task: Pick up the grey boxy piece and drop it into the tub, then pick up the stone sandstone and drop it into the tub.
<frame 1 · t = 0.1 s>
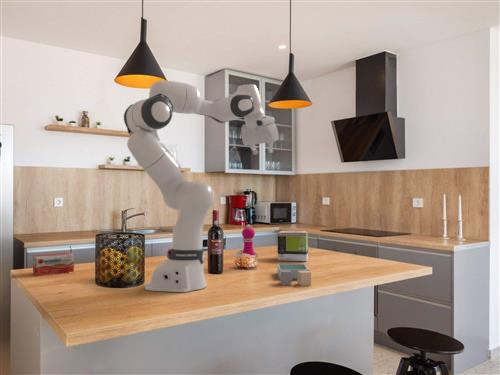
hand: (263, 153, 177), 52 cm above the table, tool tilted 20°, fingers open, 8 cm apart
tub: (292, 276, 172), on the table
medicine box: (53, 273, 177), on the table
tea box: (292, 260, 214), on the table
pepper mill: (248, 267, 192), on the table
stone sandstone: (304, 284, 157), on the table
grey boxy piece: (285, 283, 158), on the table
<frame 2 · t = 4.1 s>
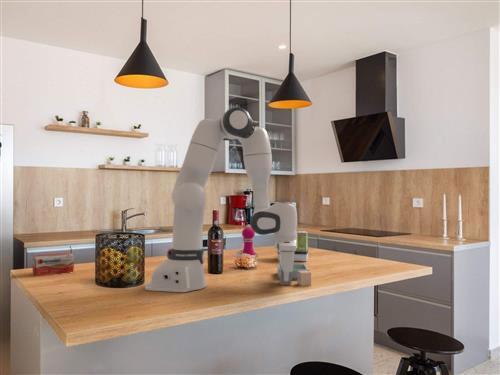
hand: (285, 279, 158), 2 cm above the table, tool pointing down, fingers closed on grey boxy piece, 4 cm apart
grey boxy piece: (285, 283, 158), on the table, touching gripper
everything else where it was.
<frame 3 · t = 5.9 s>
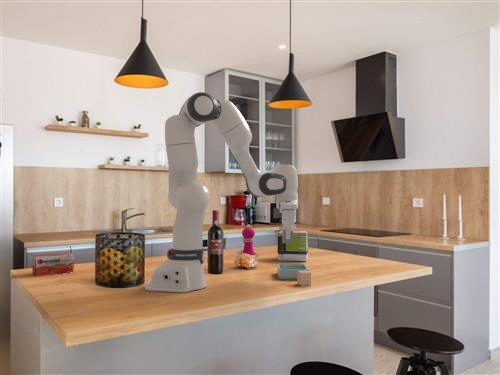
hand: (287, 238, 166), 17 cm above the table, tool pointing down, fingers closed on grey boxy piece, 4 cm apart
grey boxy piece: (287, 242, 166), point 15 cm above the table, touching gripper
everything else where it was.
when the fingers open (5 cm above the table, at t = 8.0 s): grey boxy piece drops 2 cm, resting on tub.
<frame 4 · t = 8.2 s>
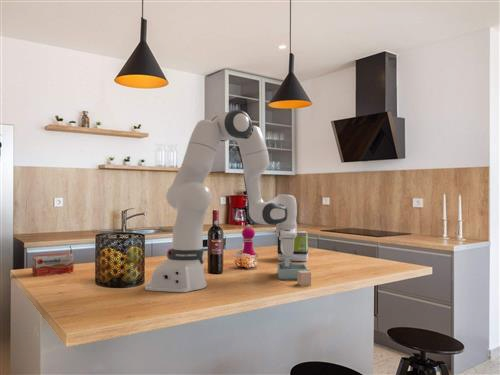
hand: (286, 264, 174), 5 cm above the table, tool pointing down, fingers open, 6 cm apart
grey boxy piece: (286, 273, 174), point 1 cm above the table, touching tub
everything else where it was.
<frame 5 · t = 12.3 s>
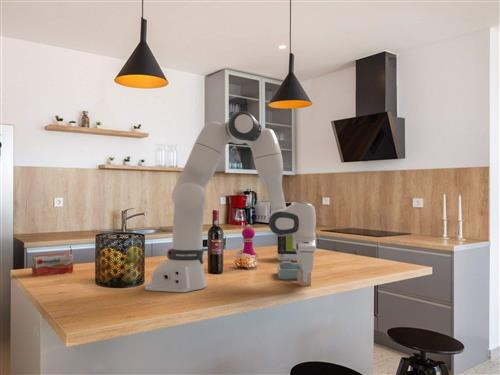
hand: (304, 279, 157), 2 cm above the table, tool pointing down, fingers closed on stone sandstone, 5 cm apart
stone sandstone: (304, 284, 157), on the table, touching gripper
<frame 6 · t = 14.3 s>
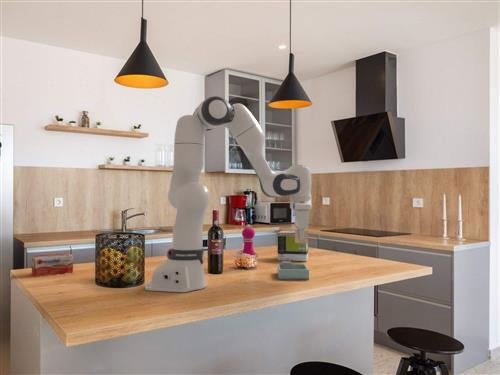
hand: (301, 238, 168), 16 cm above the table, tool pointing down, fingers closed on stone sandstone, 5 cm apart
stone sandstone: (301, 242, 168), point 15 cm above the table, touching gripper
when the fingers open (5 cm above the table, at t = 16.2 s): stone sandstone drops 2 cm, resting on tub.
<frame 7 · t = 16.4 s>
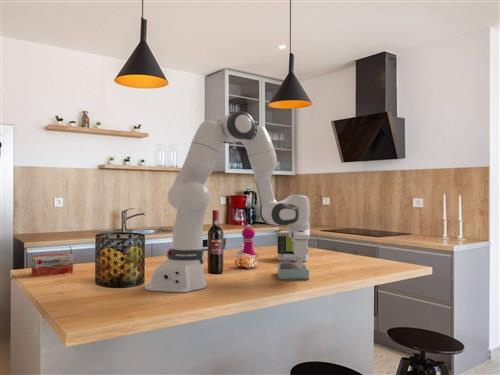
hand: (299, 266, 170), 5 cm above the table, tool pointing down, fingers open, 6 cm apart
stone sandstone: (299, 275, 170), point 1 cm above the table, touching tub
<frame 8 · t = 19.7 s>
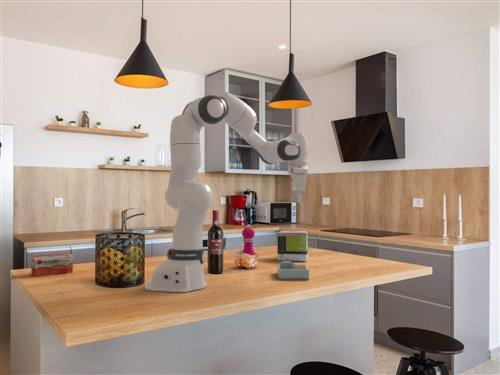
hand: (298, 201, 180), 31 cm above the table, tool pointing down, fingers open, 8 cm apart
at the end: grey boxy piece inside the target area on the tub (3.1 cm from its centre), point 0.6 cm above the tub's base; stone sandstone inside the target area on the tub (3.3 cm from its centre), point 0.6 cm above the tub's base; the gripper is holding nothing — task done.
